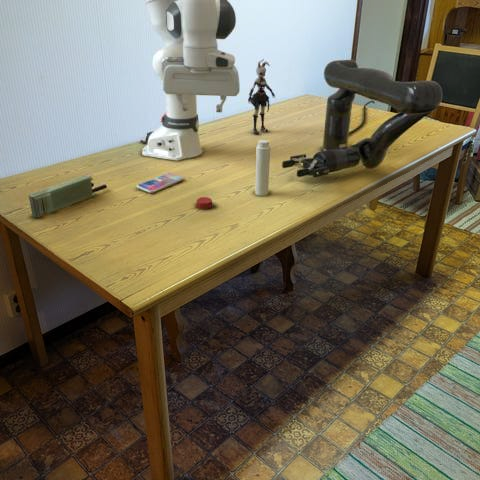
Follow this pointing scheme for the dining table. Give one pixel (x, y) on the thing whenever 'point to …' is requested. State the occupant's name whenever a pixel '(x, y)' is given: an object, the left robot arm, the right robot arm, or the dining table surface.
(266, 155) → the white bottle
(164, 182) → the smartphone
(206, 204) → the lid
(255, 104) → the figurine
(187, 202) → the dining table surface
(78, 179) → the handheld radio
